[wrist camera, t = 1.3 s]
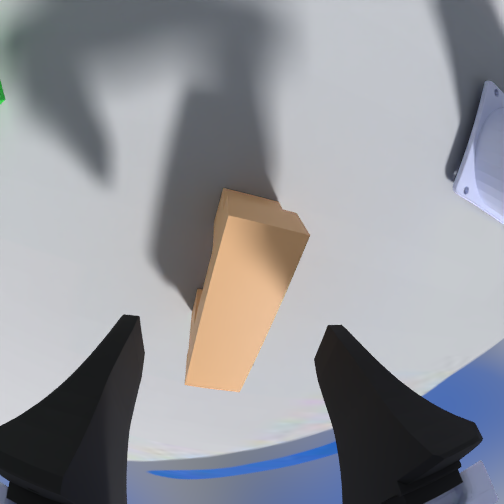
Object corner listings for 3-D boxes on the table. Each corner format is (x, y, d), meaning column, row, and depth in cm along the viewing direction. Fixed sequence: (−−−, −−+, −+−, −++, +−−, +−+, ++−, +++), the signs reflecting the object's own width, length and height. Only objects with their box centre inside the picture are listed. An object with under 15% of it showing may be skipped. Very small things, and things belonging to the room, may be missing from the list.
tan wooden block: (282, 190, 14) (309, 234, 10) (234, 326, 18) (239, 392, 14) (226, 176, 14) (228, 215, 9) (190, 319, 17) (184, 384, 13)
